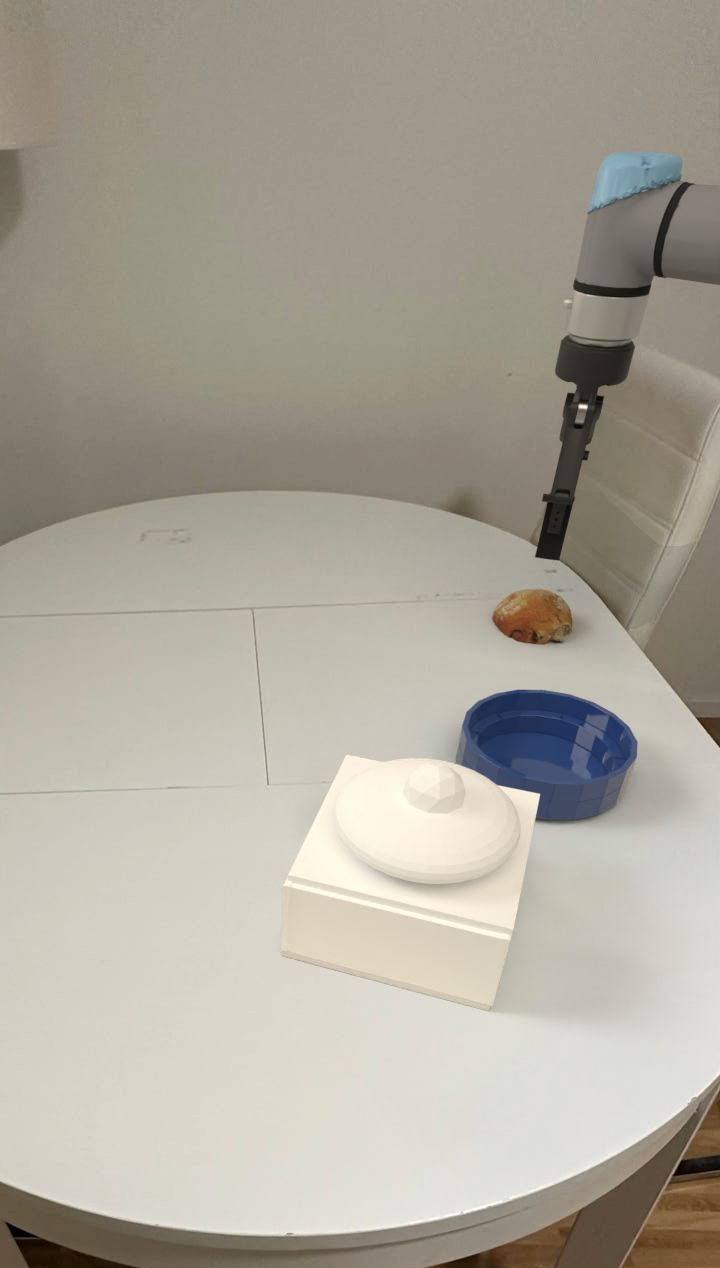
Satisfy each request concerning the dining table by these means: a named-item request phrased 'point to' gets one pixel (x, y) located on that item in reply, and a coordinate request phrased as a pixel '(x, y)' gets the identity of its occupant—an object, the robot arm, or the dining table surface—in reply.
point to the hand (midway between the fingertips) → (552, 536)
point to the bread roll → (533, 616)
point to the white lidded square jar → (411, 878)
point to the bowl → (550, 750)
